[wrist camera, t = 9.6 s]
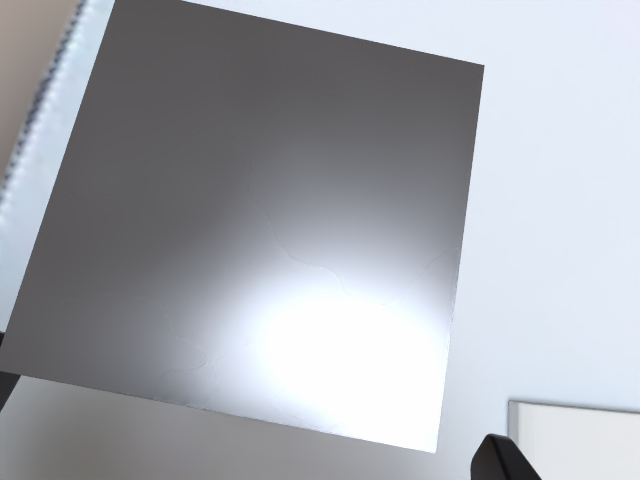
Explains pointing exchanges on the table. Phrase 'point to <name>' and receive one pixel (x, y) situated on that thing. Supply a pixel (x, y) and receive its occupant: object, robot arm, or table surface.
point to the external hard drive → (577, 441)
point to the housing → (256, 225)
